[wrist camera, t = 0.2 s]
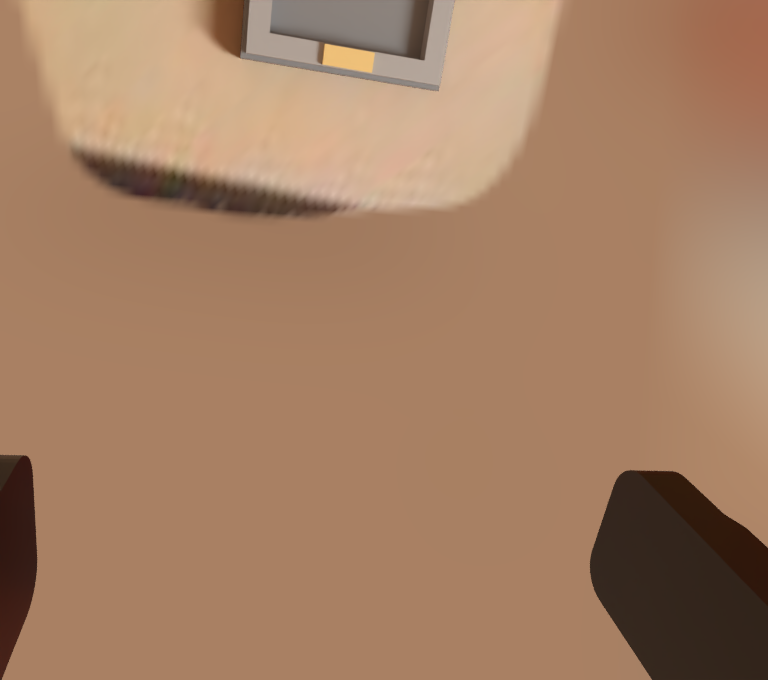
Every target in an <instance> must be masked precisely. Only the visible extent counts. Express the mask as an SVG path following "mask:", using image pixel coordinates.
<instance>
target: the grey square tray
mask: <svg viewBox="0 0 768 680" xmlns="http://www.w3.org/2000/svg"><path fill="white" fill-rule="evenodd" d="M454 2H455V0H244V10H243V25H242V40H241V55H240V58H241V59H247V60H253V61H259V62H265V63H271V64H277V65H283V66H289V67H295V68H301V69H307V70H313V71H319V72H325V73H331V74H337V75H343V76H349V77H355V78H360V79H366V80H372V81H378V82H384V83H390V84H396V85H402V86H408V87H414V88H420V89H426V90H432V91H439V86H440V84H441V78H442V72H443V66H444V60H445V54H446V49H447V43H448V37H449V31H450V25H451V19H452V14H453V8H454Z"/></svg>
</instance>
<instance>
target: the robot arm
mask: <svg viewBox="0 0 768 680" xmlns="http://www.w3.org/2000/svg"><path fill="white" fill-rule="evenodd" d="M34 508H35V507H34V488H33V472H32V465H31V462H30V459H29V458H28V457H27V456H24V455H23V456H21V455H0V680H2V677H3V674H4V672H5V670H6V667H7V664H8V662H9V659H10V657H11V654H12V652H13V649H14V647H15V644H16V642H17V639H18V637H19V634H20V632H21V629H22V626H23V624H24V622H25V619H26V617H27V614H28V611H29V608H30V605H31V601H32V597H33V593H34V587H35V581H36V573H37V545H36V526H35V509H34ZM590 573H591V579H592V584H593V587H594V590H595V592H596V594H597V596H598V598H599V600H600V601H601V603H602V605H603V606H604V608H605V609H606V611H607V612H608V614H609V615H610V617H611V618H612V620H613V621H614V623H615V624H616V626H617V627H618V629H619V630H620V632H621V633H622V635H623V636H624V638H625V639H626V641H627V642H628V644H629V645H630V647H631V648H632V650H633V651H634V653H635V654H636V656H637V657H638V659H639V660H640V662H641V663H642V665H643V667H644V668H645V670H646V671H647V673H648V674H649V676H650V677H651V679H652V680H768V548H767V547H766V546H765V545H764V544H763V543H762V542H761V541H759V539H758V538H756V537H755V536H754V535H753V534H752V533H751V532H750V531H749V530H748V529H747V528H745V527H744V526H742V525H740V524H739V523H737V522H736V521H734V520H732V519H731V518H729V517H728V516H726V515H724V514H723V513H722V512H721V511H720V510H719V509H718V508H717V507H716V506H715V505H714V504H713V503H712V502H711V501H709V500H708V499H707V498H706V497H705V496H704V495H703V494H702V493H701V492H700V491H699V490H698V489H697V488H696V487H695V486H694V485H692V484H691V483H690V482H689V481H688V480H687V479H686V478H685V477H684V476H682V475H681V474H679V473H677V472H673V471H634V470H633V471H632V470H630V471H625V472H623V473H622V474H621V475H620V476H619V477H618V478H617V480H616V482H615V484H614V487H613V490H612V493H611V496H610V499H609V502H608V505H607V508H606V511H605V514H604V517H603V520H602V523H601V526H600V529H599V532H598V535H597V538H596V541H595V544H594V547H593V550H592V554H591V559H590Z"/></svg>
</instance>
